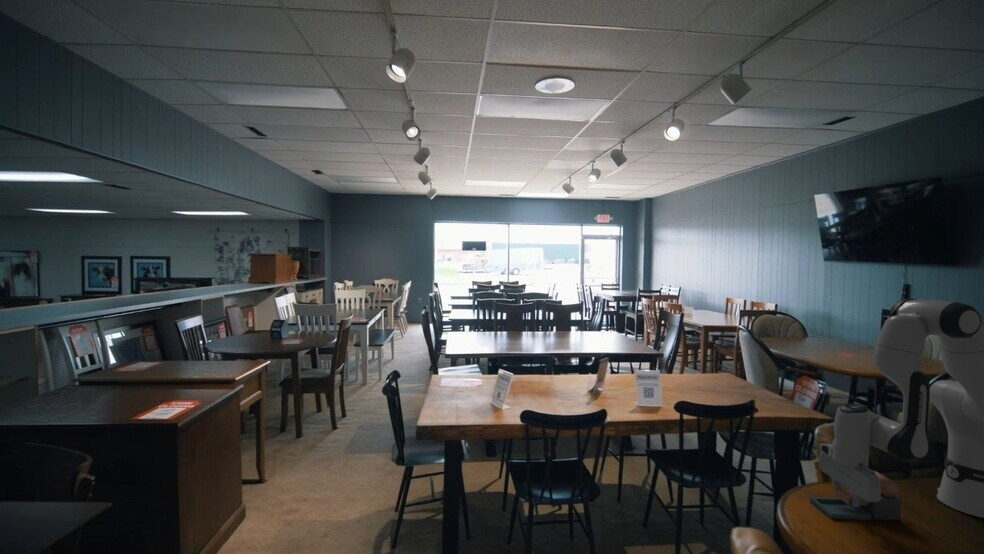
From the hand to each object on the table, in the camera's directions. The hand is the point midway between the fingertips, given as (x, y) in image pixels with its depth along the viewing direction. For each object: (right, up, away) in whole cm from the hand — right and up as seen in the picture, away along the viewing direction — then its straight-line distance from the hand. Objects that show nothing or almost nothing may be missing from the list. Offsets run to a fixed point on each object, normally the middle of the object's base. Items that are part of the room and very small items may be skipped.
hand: (846, 499), depth 138 cm
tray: (-2, -3, 0) cm, 4 cm away
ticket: (+3, 0, 0) cm, 3 cm away
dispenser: (+9, -4, 0) cm, 9 cm away
